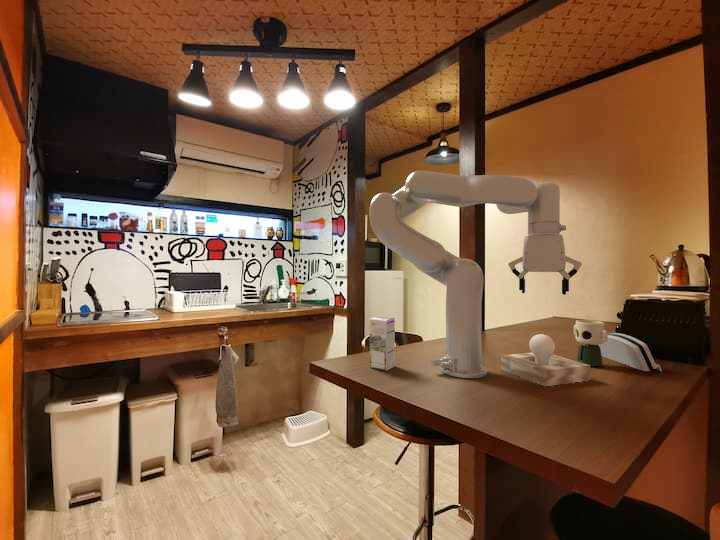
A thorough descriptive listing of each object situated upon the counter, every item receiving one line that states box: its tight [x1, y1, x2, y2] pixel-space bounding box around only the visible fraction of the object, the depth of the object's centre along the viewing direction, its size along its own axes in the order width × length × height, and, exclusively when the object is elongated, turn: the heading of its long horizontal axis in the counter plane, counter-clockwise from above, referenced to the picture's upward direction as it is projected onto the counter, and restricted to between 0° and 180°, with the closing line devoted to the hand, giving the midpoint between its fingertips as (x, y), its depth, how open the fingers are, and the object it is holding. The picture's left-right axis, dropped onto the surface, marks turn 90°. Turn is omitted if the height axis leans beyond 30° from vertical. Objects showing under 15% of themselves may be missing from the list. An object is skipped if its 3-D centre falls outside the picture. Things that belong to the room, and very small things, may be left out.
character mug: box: [573, 319, 609, 367], centre depth 99 cm, size 11×7×13 cm, turn 13°
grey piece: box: [598, 332, 663, 372], centre depth 101 cm, size 17×5×10 cm, turn 1°
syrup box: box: [368, 316, 396, 371], centre depth 97 cm, size 6×6×14 cm
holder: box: [500, 351, 591, 387], centre depth 90 cm, size 15×15×4 cm
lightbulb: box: [528, 333, 556, 365], centre depth 90 cm, size 6×6×11 cm
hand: (543, 293), depth 90 cm, fingers open, 9 cm apart
